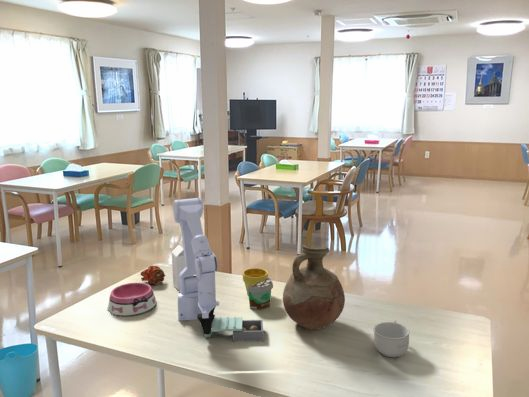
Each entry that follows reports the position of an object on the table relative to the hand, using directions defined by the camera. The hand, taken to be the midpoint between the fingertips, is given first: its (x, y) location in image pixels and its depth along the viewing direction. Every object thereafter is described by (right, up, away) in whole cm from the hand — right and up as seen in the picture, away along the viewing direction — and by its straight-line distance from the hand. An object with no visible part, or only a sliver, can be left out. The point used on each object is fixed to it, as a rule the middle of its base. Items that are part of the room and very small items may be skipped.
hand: (207, 328), depth 152 cm
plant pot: (+15, +4, +35) cm, 38 cm away
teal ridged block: (+5, -2, +1) cm, 6 cm away
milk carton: (-16, +6, +43) cm, 46 cm away
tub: (+13, -3, +1) cm, 14 cm away
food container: (+19, +1, +23) cm, 30 cm away
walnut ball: (+15, -2, +2) cm, 16 cm away
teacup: (+60, -5, -7) cm, 60 cm away
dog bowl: (-33, +1, +25) cm, 41 cm away
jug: (+36, -2, +9) cm, 37 cm away
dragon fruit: (-30, +6, +47) cm, 56 cm away
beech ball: (+11, -3, 0) cm, 12 cm away
